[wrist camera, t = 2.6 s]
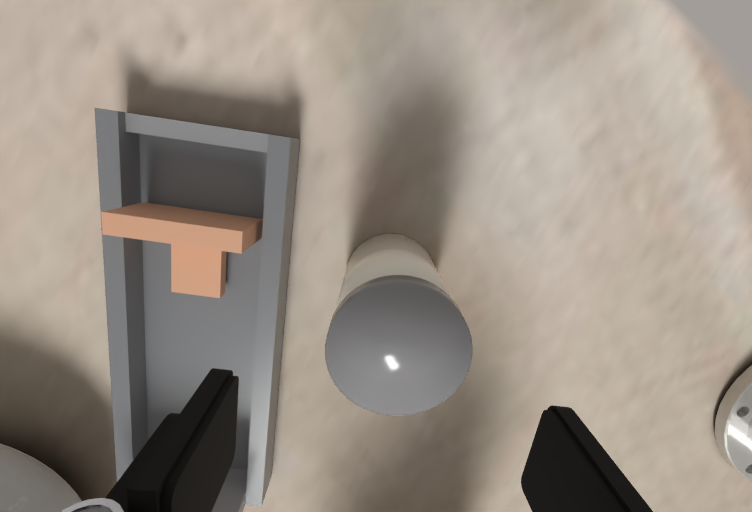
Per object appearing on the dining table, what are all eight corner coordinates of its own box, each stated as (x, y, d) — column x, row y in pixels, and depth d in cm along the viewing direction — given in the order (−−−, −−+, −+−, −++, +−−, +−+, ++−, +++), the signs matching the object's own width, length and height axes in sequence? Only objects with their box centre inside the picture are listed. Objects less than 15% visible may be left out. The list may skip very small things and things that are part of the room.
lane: (300, 138, 22) (269, 134, 16) (271, 475, 30) (241, 568, 23) (126, 112, 22) (21, 97, 16) (139, 460, 29) (71, 550, 23)
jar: (444, 239, 24) (487, 296, 15) (426, 324, 26) (455, 423, 17) (350, 225, 24) (333, 274, 15) (339, 312, 26) (317, 406, 16)
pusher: (263, 219, 23) (242, 231, 19) (258, 297, 24) (238, 322, 21) (143, 202, 22) (100, 211, 19) (145, 282, 24) (106, 304, 20)
